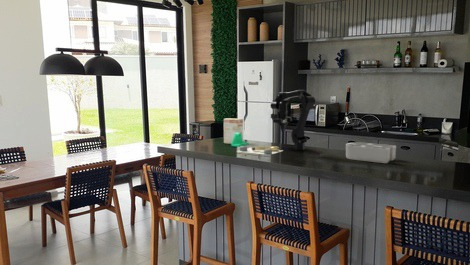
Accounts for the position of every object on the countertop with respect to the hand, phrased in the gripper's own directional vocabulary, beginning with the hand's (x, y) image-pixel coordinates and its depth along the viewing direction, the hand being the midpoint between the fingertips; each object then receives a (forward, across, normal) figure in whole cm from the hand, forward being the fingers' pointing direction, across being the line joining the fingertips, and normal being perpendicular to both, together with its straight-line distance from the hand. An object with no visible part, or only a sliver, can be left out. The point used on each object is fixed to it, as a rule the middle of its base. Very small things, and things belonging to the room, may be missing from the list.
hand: (282, 131), depth 290 cm
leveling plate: (+12, +26, -4) cm, 28 cm away
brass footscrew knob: (+10, +24, -1) cm, 26 cm away
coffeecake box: (+12, -2, -44) cm, 46 cm away
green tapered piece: (+12, +8, -31) cm, 34 cm away
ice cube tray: (+13, +8, +63) cm, 65 cm away
